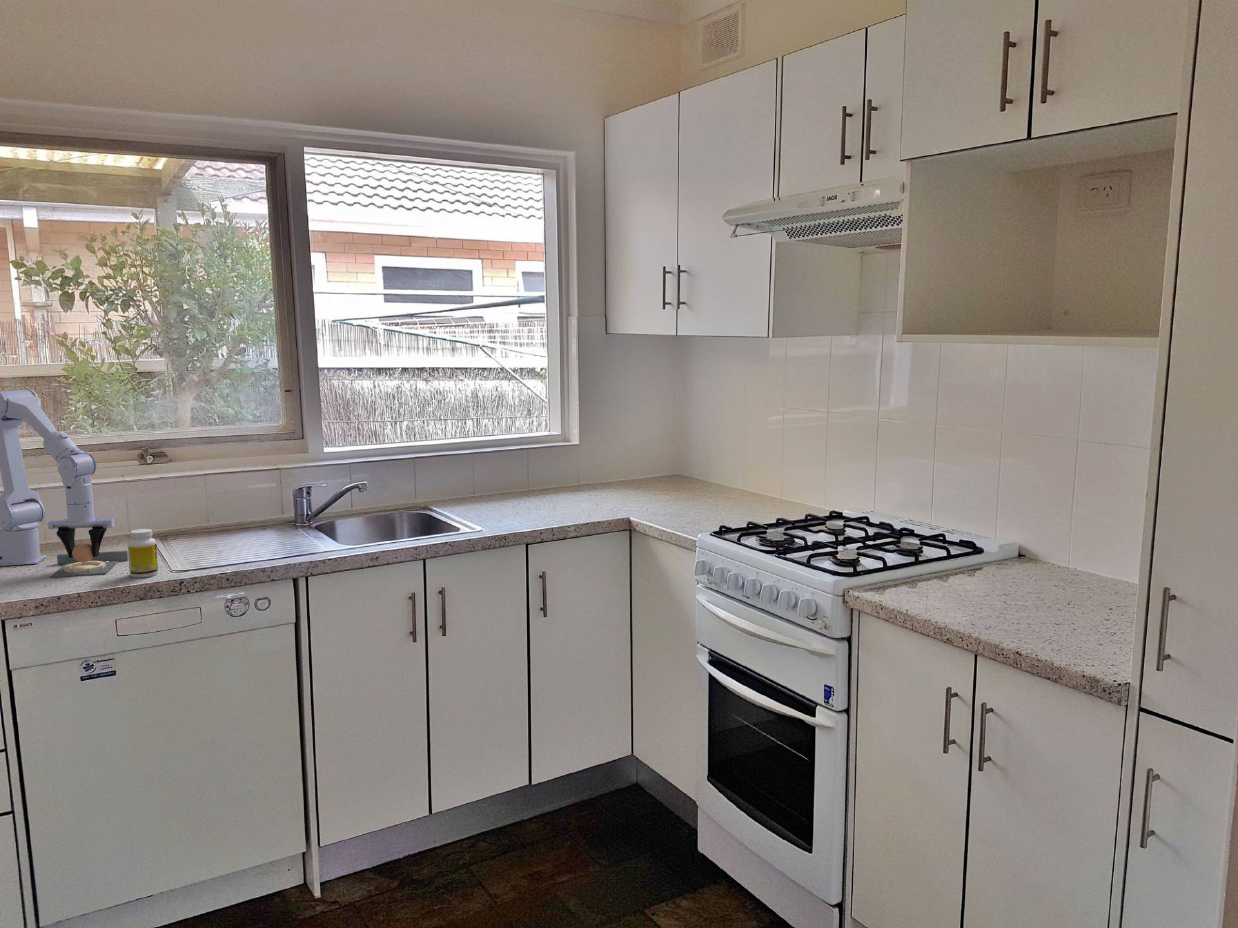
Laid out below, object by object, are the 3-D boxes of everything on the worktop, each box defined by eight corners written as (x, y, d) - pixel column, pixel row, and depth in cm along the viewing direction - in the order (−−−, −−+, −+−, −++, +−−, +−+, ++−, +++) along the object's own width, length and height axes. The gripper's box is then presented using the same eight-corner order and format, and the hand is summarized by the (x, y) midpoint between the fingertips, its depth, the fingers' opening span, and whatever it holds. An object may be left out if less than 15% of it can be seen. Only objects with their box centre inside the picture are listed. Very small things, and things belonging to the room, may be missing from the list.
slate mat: (50, 577, 220) (50, 572, 220) (64, 565, 232) (64, 560, 231) (106, 574, 224) (105, 569, 224) (117, 562, 235) (117, 557, 235)
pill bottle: (162, 574, 224) (159, 530, 222) (135, 579, 219) (132, 534, 218) (152, 570, 228) (149, 526, 226) (125, 575, 223) (122, 530, 222)
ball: (69, 564, 225) (67, 545, 224) (77, 559, 229) (76, 540, 229) (91, 564, 225) (89, 544, 225) (99, 559, 230) (97, 539, 230)
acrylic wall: (57, 564, 233) (56, 555, 232) (58, 563, 233) (58, 554, 233) (127, 560, 237) (126, 551, 237) (128, 559, 238) (127, 550, 238)
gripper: (117, 499, 230) (121, 551, 232) (55, 500, 228) (59, 553, 230) (106, 504, 223) (110, 558, 225) (42, 505, 221) (46, 560, 223)
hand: (84, 556), depth 227 cm, fingers closed on ball, 5 cm apart
